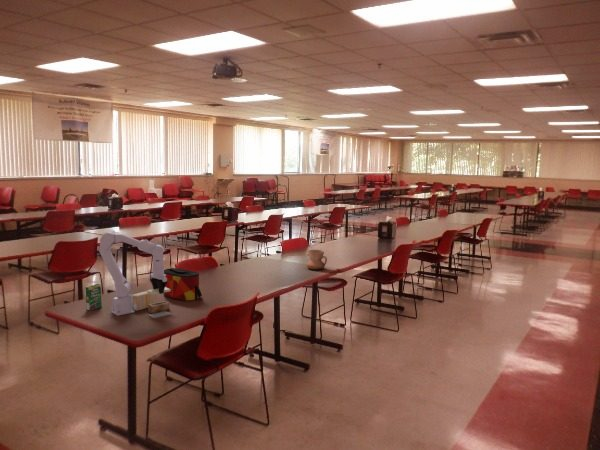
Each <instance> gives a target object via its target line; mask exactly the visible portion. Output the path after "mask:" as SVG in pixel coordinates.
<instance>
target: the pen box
mask: <svg viewBox="0 0 600 450" xmlns="http://www.w3.org/2000/svg"><path fill="white" fill-rule="evenodd" d="M147 311H148V313H149V314H153V313H158V312H163V311H167V312H168V311H170V302H169V301H167V300H165V301H160V302H159V301H158V302H156V303H153V304H148V310H147Z"/></svg>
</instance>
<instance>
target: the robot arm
mask: <svg viewBox="0 0 600 450" xmlns="http://www.w3.org/2000/svg"><path fill="white" fill-rule="evenodd" d="M121 242H122V243H125V244H128V245H131V246H134V247H137V249H138V250H139V251H142V252H145V253H147V254H150V255H152V272H151V273H150V278H149V281H150V284H151V286H152V288H153V289H159V294H160V295H162V294H164V289H165V286H166V284H167V282H168V281H167V278H166V277H165V276H166V275H165V274H164V270H165V268H164V267H165V266H164V265H165V262H164V261H165V259H164V252H165V248H164V246H163V245H161V244H160V243H155V242H151V241H149V240H148V239H141V240H139V239H136V238H134V237H131V236H128V235H126V234H124V233H121V232H119V231H115V230H109V231H107V232H105V233H103V234H102V235H101V237H100V239H99V249H98V252H99V254H100V255H101V258H102V260H103V262H104V263H105V266H106V268H107V270H108V272H109V274H110V276H111V278H112V280H113V282H114V287H115V293H116V296H115V297H112V298H111V313H112V314H114V315H115V316H122V315H128V314H132V313H135V311H136V310H133V309H132V293H131V291H132V288H133V287H132V284H131V283H130V282H129V281H127V279H126V277H125V276H124V275H123V272H122V271H121V269H120V267H119V265H118V263H117V261H116V259H115V257H114V255H113V254H112V251H111V249H112V248H113V245H114V244H116V243H117V244H118V243H121ZM159 294H158V295H159Z"/></svg>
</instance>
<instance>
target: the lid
mask: <svg viewBox="0 0 600 450" xmlns="http://www.w3.org/2000/svg"><path fill="white" fill-rule="evenodd" d="M146 291H147V293H149V294H151V295H153V294H156V295H159V289H148V290H146ZM169 291H170V289H169V288H166V287H165V289H164V292H169Z"/></svg>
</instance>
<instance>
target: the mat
mask: <svg viewBox="0 0 600 450" xmlns="http://www.w3.org/2000/svg"><path fill="white" fill-rule="evenodd" d="M147 315H148V317H150V318H152V319H159V318H163V317H168V316H172V315H173V314H172V313H171V312H169V311H168V310H167V311H162V312H158V313H153V314H152V313H149V314H147Z"/></svg>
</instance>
